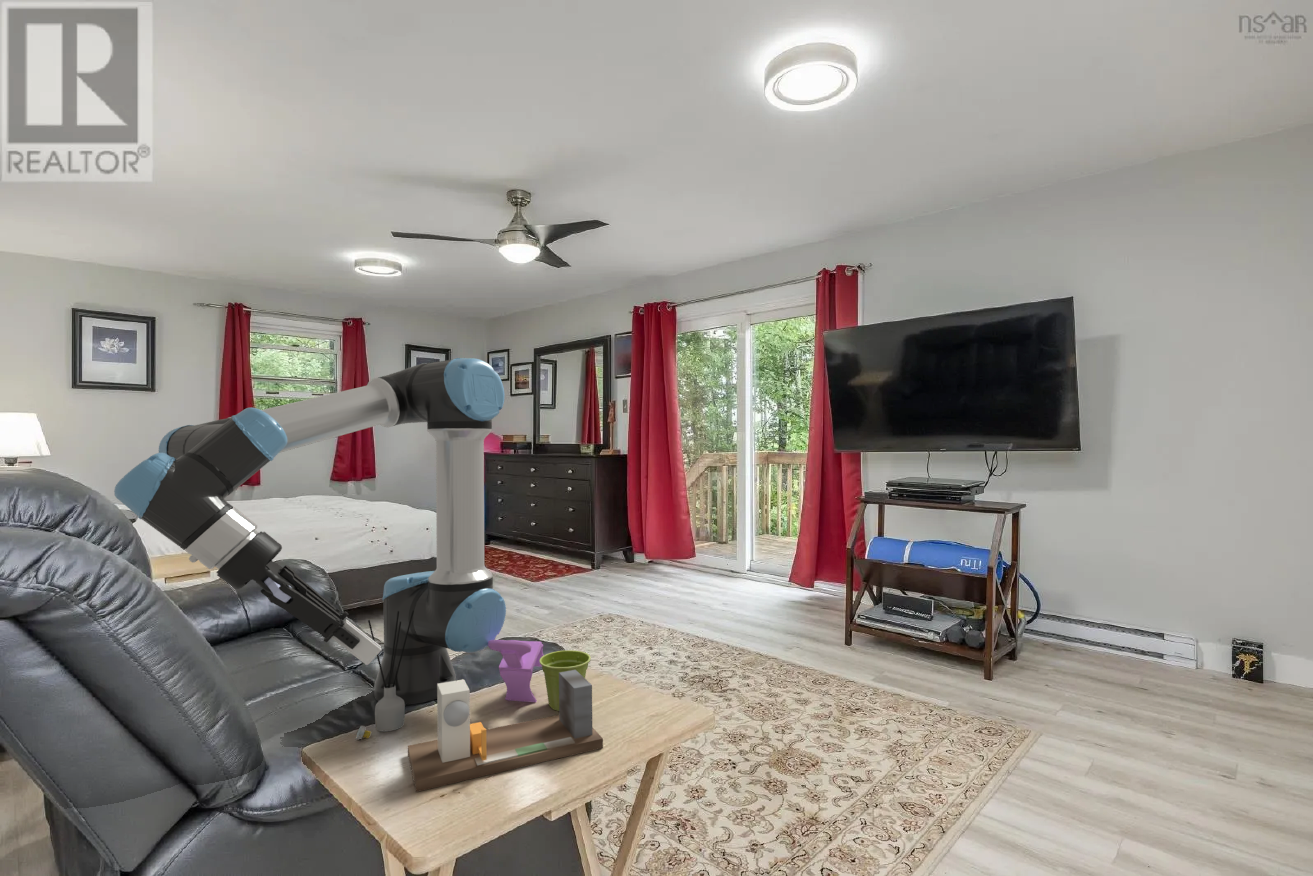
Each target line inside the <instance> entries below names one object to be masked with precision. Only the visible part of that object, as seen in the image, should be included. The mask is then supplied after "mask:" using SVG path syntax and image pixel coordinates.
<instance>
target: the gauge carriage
mask: <svg viewBox="0 0 1313 876" xmlns="http://www.w3.org/2000/svg"><path fill="white" fill-rule="evenodd" d="M470 690H471V689H470V688H469V686H468V683H466V680H465V678H464V679H463V678H462V679H459V680H458V679H457V680H456V681H451V682H445V683H439V684H437V705H436V706H437V710H436V711H437V714H436V715H437V716H436V717H437V718H436V719H437V740H438V751H439V754H440V757H441V760H442V763H444V762H449V761H453V760H458V759H462V758H467V757H470V724H471V698H470V697H471V696H470V695H471V693H470V692H471V691H470Z"/></svg>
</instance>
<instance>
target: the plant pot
mask: <svg viewBox="0 0 1313 876" xmlns="http://www.w3.org/2000/svg"><path fill="white" fill-rule="evenodd" d="M543 655H544V656H542V657H541V658H540V664H541V665H542V669H541V670H542V672H543V675H544V680H545V682H544V683H545V687H546V693H547V694H546V695H547V702H548V706H549V707H550V708H551V709H552V710H554V711H558V712H559V673H560V672H565V671H571V670H576V671H577V672H579V673H580V674H581V675H582V676H583V677H584V678H585V679H586V674H587V671H588V667H589V663H590V661H591V660H592V659H591V658H592V657H591V655H590V654H589V653H588V652H585V651H581V650H571V649H569V650H558V651H553V652H549V653H546V654H543Z"/></svg>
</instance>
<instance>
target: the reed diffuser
mask: <svg viewBox="0 0 1313 876" xmlns="http://www.w3.org/2000/svg"><path fill="white" fill-rule="evenodd" d="M413 612H414V611H412V614H411V618H410V622H409V625H408V629H407V633H406V637H405V641H404V645H403V648H402V652H401V656H400V660H399V664H398V668H397V672H396V675H395V679H394V683H393V684H391V679H392V674H393V668H394V662H395V656H396V650H397V644H398V639H399V633H400V627H401V622H400V623H399V629H398V635H397V641H396V646H395V640H396V633H397V625H398V617H399V611H398V612H397V620H396V628H395V635H394V643H393V651H392V658H391V666H390V674H389V681H388V685H386V683H385V679H384V675H383V671H382V667H381V660H380V656H379V654H378V655H377V656H376V657H377V661H378V665H379V669H380V671H381V675H382V679H383V683H384V697H383V698H382V699H381V700H380V701H377V702H376V704H375V706H374V721H375V729H376V730H377V731H379V732H391V731H395V730H396V731H397V730H399V729H400V728H402V727H403V726H404V724H405V715H406V714H405V713H406V712H405V711H406V709H405V708H406V707H405V706H406V705H405V703H404V700H403V699H402V698H400V697H398V696H397V695H396V685H395V682H396V678H397V674H398V670H399V666H400V662H401V659H402V655H403V651H404V647H405V643H406V639H407V635H408V632H409V628H410V624H411V620H412V616H413ZM367 623H368V626H369V630H370V635H371V639H372V640H374V641H375V636H374V632H373V628H372V624H371V620H370V619H368V620H367ZM375 642H376V641H375ZM394 648H395V652H394ZM393 656H394V658H393ZM392 663H393V664H392ZM366 728H367V727H366V726H365V725H360V726H359V728H358V730H357V733H356V735H357V736H355V740H357V739H361V740H362V738H363V737H364V739H369V738H370V737H371V734H372V731H371V730H369V729H368V730H367V729H366ZM356 737H357V738H356ZM365 737H366V738H365Z"/></svg>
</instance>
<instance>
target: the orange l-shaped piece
mask: <svg viewBox="0 0 1313 876" xmlns="http://www.w3.org/2000/svg"><path fill="white" fill-rule="evenodd" d="M486 730H487V728H485V727H484V724H482V722H481V721H479V722H478V721H477V722H473V723H470V749H471V751H472V754H473V755H474V754H478V753H479V754H480V756H481V759H482V761H483V760H487V754H486Z"/></svg>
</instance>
